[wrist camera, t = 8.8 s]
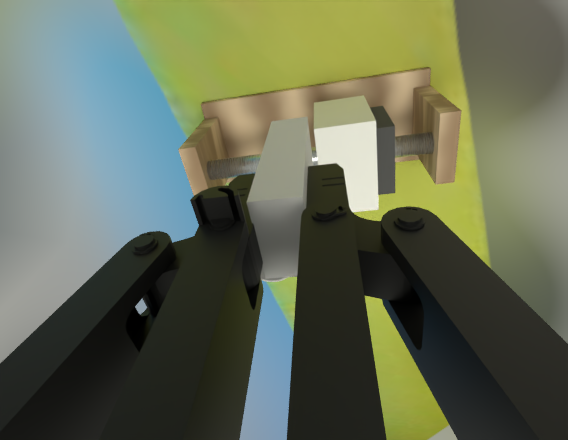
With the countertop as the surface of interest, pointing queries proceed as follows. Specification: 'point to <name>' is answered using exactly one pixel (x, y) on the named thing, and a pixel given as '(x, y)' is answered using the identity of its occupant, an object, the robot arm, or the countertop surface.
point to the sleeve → (349, 147)
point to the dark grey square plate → (385, 150)
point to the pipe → (315, 156)
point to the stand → (300, 103)
